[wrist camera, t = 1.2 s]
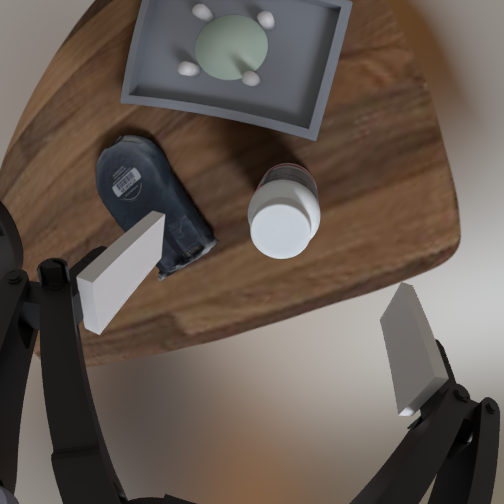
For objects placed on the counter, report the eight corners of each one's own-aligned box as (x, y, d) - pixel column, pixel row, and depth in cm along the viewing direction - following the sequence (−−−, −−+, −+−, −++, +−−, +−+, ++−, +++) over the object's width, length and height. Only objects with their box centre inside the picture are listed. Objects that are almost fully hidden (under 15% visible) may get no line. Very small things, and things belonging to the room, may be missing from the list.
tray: (133, 101, 26) (114, 103, 23) (160, -14, 19) (144, -24, 16) (314, 137, 25) (316, 142, 22) (348, 10, 19) (354, -1, 16)
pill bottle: (256, 164, 27) (233, 196, 19) (314, 160, 26) (320, 189, 18) (263, 218, 30) (246, 270, 21) (318, 215, 29) (323, 267, 20)
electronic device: (231, 223, 33) (140, 114, 26) (217, 256, 28) (109, 132, 22) (175, 254, 37) (94, 165, 31) (157, 285, 33) (65, 188, 27)
